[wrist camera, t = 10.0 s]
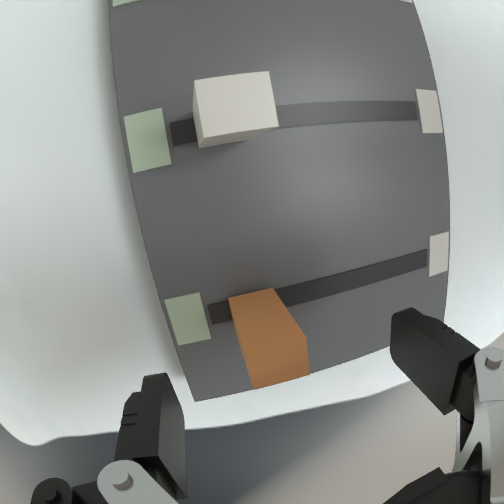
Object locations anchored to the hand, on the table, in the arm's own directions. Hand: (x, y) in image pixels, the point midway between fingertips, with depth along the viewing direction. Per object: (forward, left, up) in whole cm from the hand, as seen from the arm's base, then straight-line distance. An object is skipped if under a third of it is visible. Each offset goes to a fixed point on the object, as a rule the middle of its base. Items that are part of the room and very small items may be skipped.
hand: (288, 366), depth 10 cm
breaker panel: (-4, -8, -7) cm, 12 cm away
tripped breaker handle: (0, 0, -4) cm, 4 cm away
